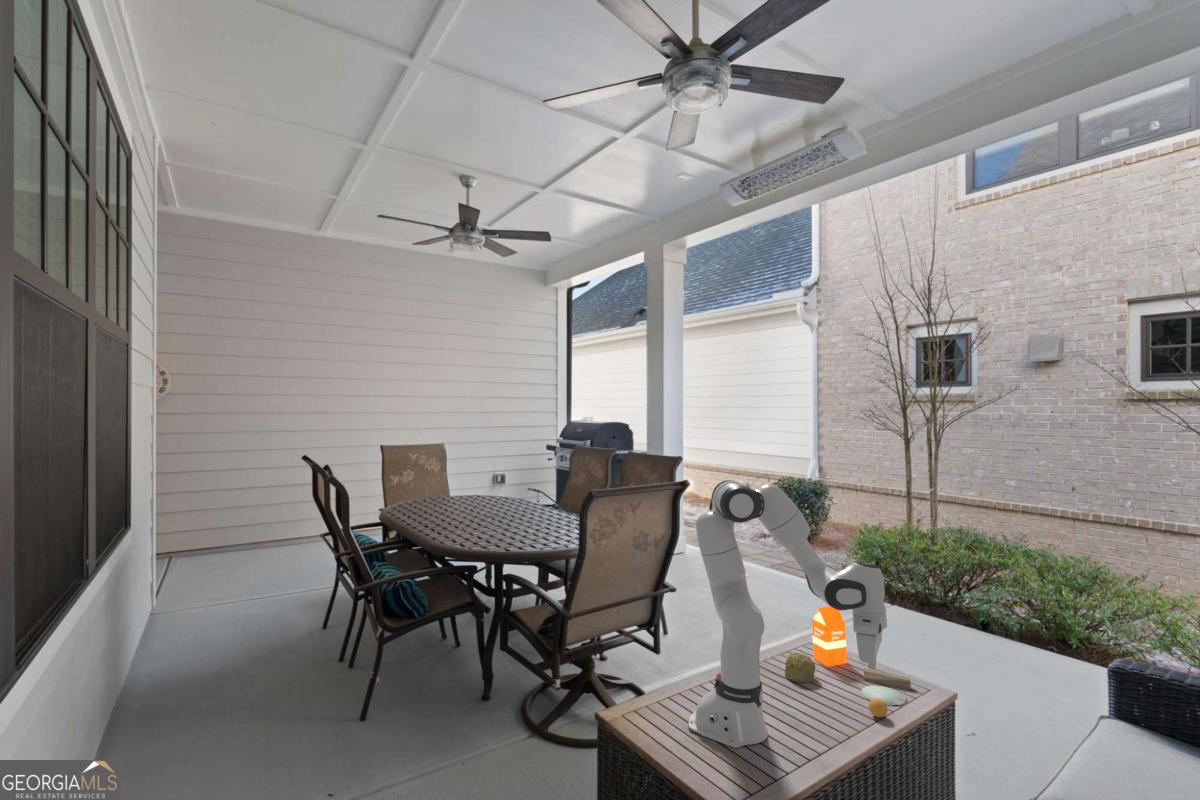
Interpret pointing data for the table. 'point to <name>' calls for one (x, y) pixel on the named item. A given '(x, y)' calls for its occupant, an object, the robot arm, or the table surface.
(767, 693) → the table surface
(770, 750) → the table surface
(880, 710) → the ball
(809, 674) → the rock
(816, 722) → the table surface
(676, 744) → the table surface
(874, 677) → the bar
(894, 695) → the disc
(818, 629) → the orange juice
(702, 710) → the robot arm
